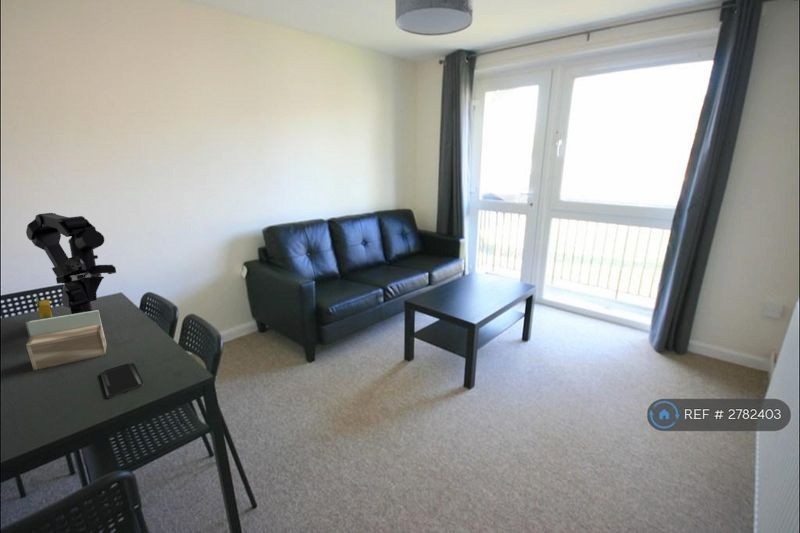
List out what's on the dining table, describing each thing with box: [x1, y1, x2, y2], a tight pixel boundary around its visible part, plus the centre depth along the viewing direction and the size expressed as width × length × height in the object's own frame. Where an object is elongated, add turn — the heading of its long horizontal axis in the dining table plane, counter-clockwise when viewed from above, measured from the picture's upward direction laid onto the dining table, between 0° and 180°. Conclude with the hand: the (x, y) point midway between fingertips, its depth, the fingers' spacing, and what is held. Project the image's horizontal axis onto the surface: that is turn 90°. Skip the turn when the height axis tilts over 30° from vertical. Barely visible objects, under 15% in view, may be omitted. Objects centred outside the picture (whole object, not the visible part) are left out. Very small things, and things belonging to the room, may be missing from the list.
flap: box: [24, 309, 107, 343], centre depth 111 cm, size 1×16×12 cm, turn 124°
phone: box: [99, 362, 144, 399], centre depth 100 cm, size 8×1×15 cm
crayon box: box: [35, 296, 54, 320], centre depth 126 cm, size 7×3×12 cm, turn 42°
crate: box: [25, 324, 107, 371], centre depth 109 cm, size 6×16×8 cm, turn 125°
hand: (90, 299), depth 122 cm, fingers closed
